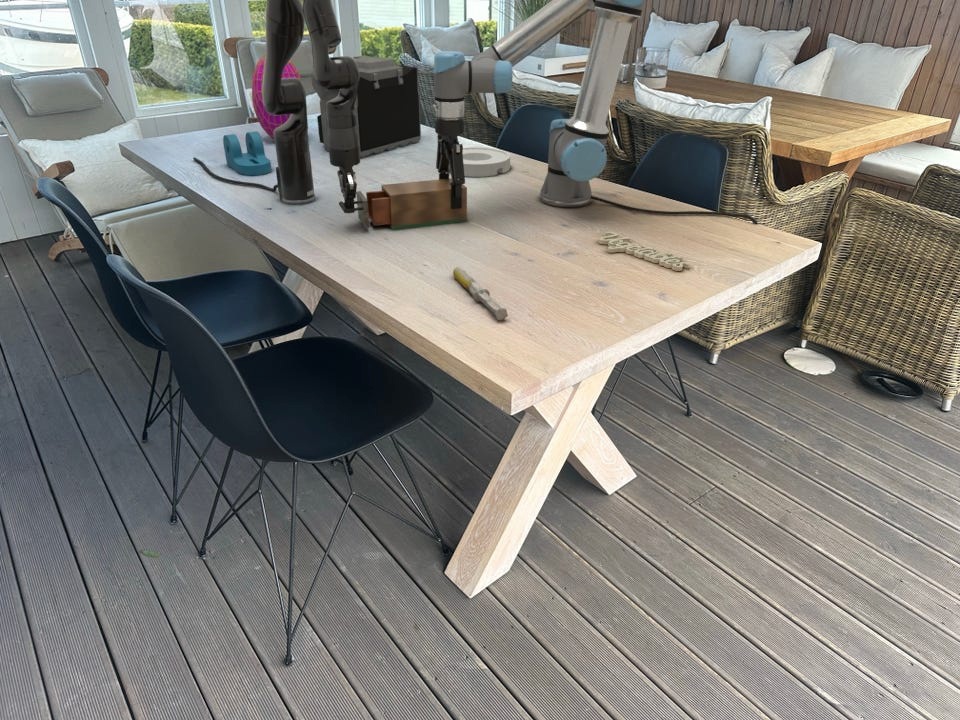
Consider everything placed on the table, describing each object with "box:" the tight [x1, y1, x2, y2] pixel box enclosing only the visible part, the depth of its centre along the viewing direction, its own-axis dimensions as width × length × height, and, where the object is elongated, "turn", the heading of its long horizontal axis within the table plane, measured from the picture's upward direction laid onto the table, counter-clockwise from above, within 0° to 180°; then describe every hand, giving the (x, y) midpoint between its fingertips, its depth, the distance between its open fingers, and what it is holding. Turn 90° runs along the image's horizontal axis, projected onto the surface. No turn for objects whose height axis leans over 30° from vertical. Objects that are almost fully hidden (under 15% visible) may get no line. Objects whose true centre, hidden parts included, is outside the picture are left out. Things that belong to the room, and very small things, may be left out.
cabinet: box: [380, 177, 468, 231], centre depth 185 cm, size 21×10×9 cm, turn 110°
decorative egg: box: [251, 56, 303, 140], centre depth 257 cm, size 19×19×30 cm
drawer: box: [338, 190, 391, 229], centre depth 182 cm, size 25×8×7 cm, turn 110°
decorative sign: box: [598, 231, 690, 272], centre depth 167 cm, size 26×1×10 cm
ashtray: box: [449, 146, 511, 178], centre depth 232 cm, size 23×23×4 cm
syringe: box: [452, 266, 509, 321], centre depth 145 cm, size 25×4×3 cm, turn 21°
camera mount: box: [222, 131, 272, 176], centre depth 226 cm, size 18×10×10 cm, turn 35°
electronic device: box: [310, 55, 422, 159], centre depth 250 cm, size 37×22×30 cm, turn 144°
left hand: (350, 212), depth 179 cm, fingers closed
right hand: (450, 202), depth 187 cm, fingers closed on cabinet, 10 cm apart
